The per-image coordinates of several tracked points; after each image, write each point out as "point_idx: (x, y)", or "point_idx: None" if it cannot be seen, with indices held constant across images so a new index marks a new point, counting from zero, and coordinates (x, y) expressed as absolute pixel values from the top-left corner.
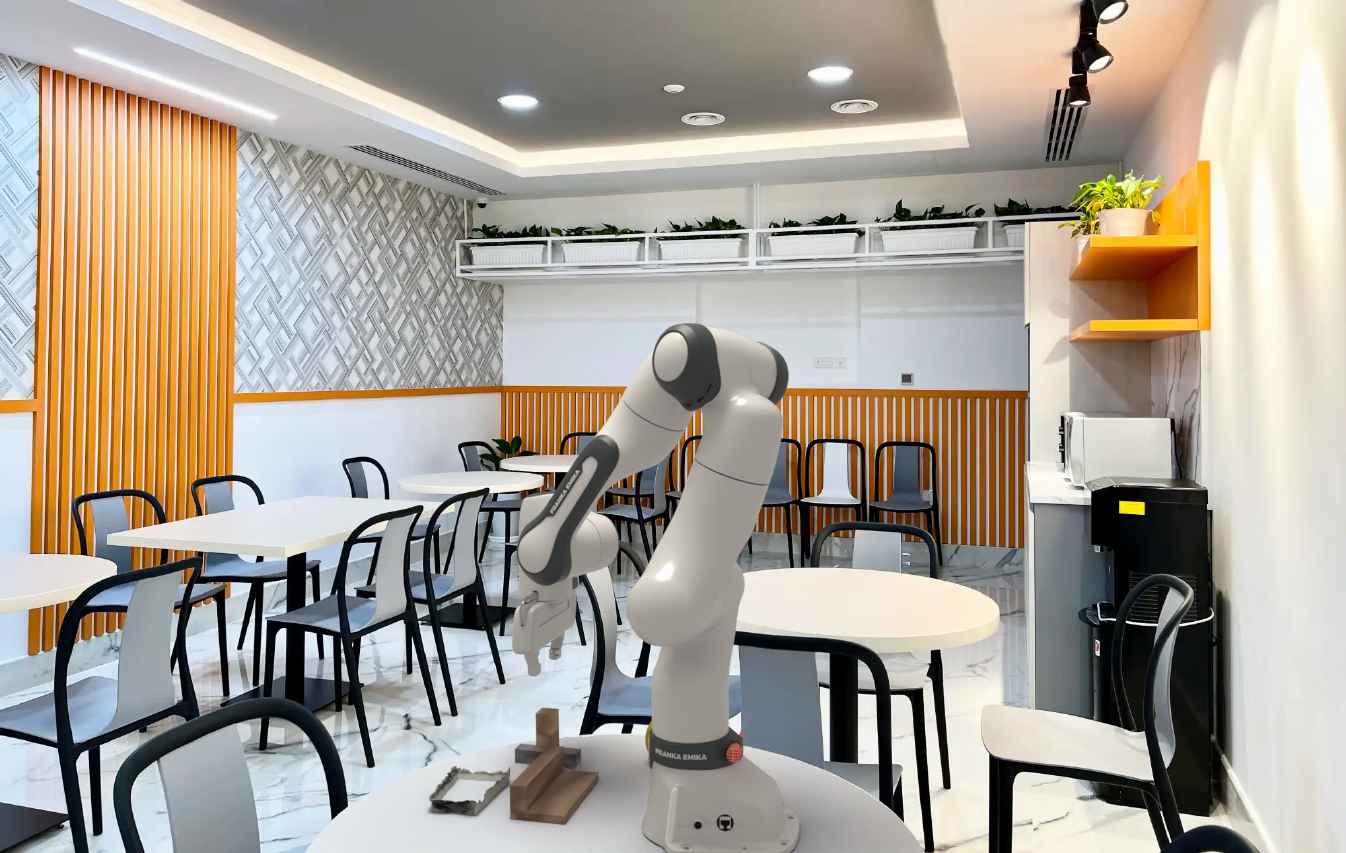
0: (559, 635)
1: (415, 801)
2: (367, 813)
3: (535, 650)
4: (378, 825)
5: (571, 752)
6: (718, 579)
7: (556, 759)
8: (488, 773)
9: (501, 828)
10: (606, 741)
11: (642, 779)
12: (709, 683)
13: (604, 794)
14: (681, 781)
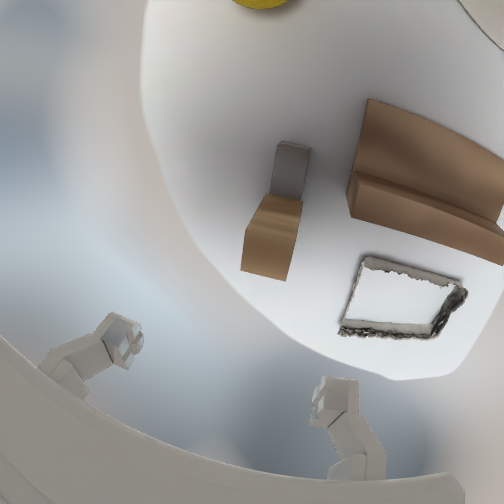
0: (109, 419)
1: (400, 343)
2: (412, 368)
3: (446, 484)
4: (441, 355)
5: (300, 163)
6: None
7: (400, 193)
8: (353, 290)
9: None
10: (173, 114)
11: (358, 21)
12: None
13: (428, 91)
14: None
